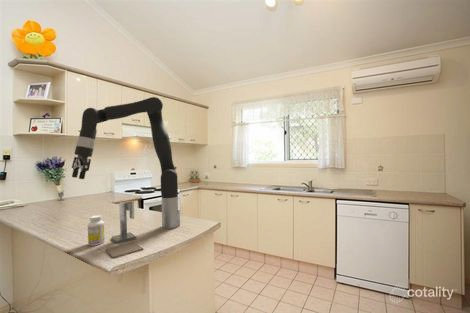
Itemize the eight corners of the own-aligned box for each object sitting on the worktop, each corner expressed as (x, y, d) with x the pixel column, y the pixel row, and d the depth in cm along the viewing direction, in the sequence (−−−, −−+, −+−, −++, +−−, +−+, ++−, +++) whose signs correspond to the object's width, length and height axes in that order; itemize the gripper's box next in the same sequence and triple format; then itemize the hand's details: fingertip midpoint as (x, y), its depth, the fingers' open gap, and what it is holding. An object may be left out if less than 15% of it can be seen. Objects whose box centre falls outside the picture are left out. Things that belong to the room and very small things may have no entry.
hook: (131, 217, 112) (131, 200, 112) (134, 218, 109) (133, 201, 109) (119, 219, 109) (119, 202, 109) (122, 221, 106) (121, 203, 106)
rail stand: (130, 234, 120) (129, 196, 120) (140, 242, 108) (139, 200, 108) (111, 238, 114) (110, 199, 114) (120, 247, 102) (119, 203, 102)
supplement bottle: (98, 240, 112) (97, 214, 112) (107, 241, 110) (107, 215, 110) (84, 245, 106) (84, 217, 106) (94, 247, 104) (93, 218, 104)
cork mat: (134, 242, 108) (134, 241, 108) (143, 249, 99) (143, 248, 99) (105, 249, 100) (105, 248, 100) (112, 258, 91) (112, 256, 91)
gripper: (99, 148, 115) (92, 180, 113) (87, 148, 123) (80, 177, 121) (82, 145, 109) (75, 178, 107) (71, 144, 117) (63, 176, 115)
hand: (77, 178), depth 114 cm, fingers open, 8 cm apart
